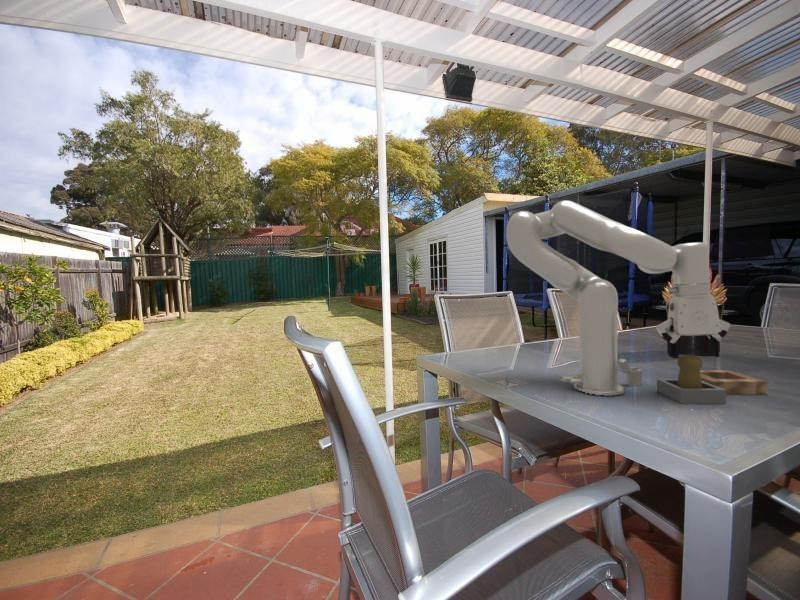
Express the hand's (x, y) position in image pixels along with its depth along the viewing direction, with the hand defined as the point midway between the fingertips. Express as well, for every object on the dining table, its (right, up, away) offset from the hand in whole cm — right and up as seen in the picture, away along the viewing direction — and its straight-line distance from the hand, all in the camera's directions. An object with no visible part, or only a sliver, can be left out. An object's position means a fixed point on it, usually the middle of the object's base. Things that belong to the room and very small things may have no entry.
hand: (693, 356), depth 98 cm
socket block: (+14, -10, +8) cm, 19 cm away
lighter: (-8, -11, +14) cm, 19 cm away
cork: (0, -11, +1) cm, 11 cm away
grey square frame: (0, -11, +1) cm, 11 cm away
